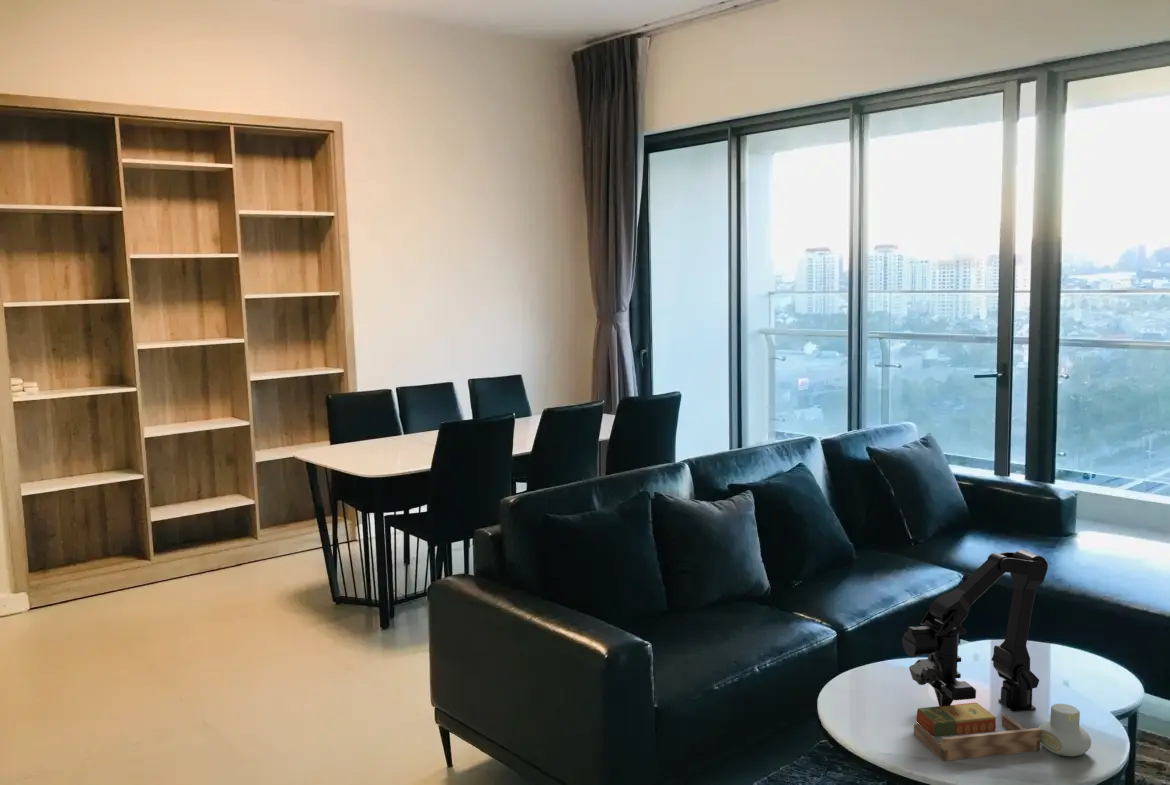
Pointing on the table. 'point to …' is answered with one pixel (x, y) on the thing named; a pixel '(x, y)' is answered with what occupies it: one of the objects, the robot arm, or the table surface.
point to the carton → (956, 719)
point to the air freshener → (1065, 732)
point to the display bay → (983, 742)
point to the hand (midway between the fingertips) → (943, 711)
